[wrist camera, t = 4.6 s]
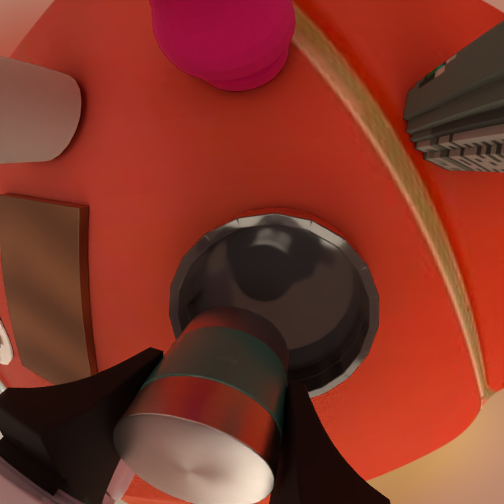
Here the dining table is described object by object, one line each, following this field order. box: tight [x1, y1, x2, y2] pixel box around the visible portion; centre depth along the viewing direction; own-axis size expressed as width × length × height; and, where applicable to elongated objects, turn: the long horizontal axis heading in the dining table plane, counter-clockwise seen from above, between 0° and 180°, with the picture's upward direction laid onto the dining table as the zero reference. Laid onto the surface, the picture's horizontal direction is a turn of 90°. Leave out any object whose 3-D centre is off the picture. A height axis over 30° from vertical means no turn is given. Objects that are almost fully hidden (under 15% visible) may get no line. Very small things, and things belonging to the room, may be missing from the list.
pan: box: [169, 207, 379, 398], centre depth 18 cm, size 12×12×4 cm
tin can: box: [113, 306, 289, 504], centre depth 10 cm, size 5×5×7 cm
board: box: [0, 193, 98, 385], centre depth 23 cm, size 20×12×1 cm, turn 171°
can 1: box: [0, 56, 82, 164], centre depth 13 cm, size 8×8×12 cm
